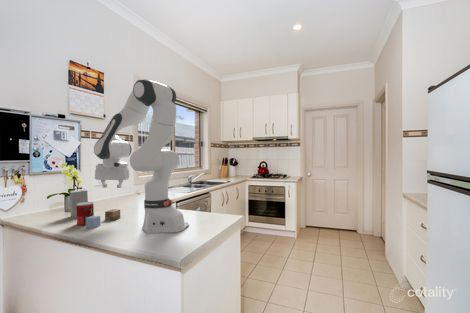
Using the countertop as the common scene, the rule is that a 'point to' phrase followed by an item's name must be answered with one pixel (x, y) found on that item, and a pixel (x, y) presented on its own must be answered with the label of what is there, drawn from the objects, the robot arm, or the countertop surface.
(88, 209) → the canned food
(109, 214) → the walnut block
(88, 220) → the slate block
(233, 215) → the countertop surface
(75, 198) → the skincare box
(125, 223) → the countertop surface
